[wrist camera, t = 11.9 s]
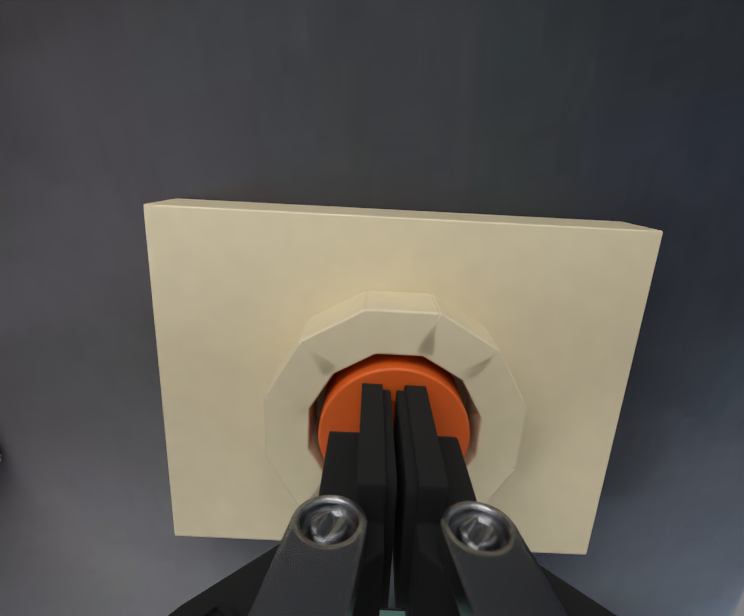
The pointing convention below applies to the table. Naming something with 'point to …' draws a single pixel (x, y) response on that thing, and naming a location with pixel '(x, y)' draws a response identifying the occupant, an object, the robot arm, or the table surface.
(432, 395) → the power button
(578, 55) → the table surface
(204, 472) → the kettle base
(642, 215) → the table surface
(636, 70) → the table surface
